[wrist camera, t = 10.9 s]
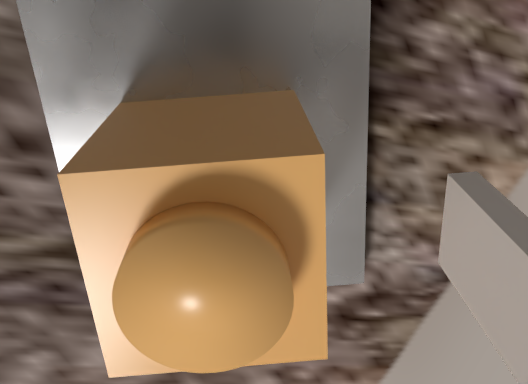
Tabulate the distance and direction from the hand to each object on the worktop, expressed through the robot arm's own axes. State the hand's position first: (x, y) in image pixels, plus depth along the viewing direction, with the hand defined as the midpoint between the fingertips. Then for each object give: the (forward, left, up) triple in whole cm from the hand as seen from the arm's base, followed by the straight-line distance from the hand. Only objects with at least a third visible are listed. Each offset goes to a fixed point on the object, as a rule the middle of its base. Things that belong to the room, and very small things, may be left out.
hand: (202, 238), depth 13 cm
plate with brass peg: (0, 0, -8) cm, 8 cm away
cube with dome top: (+1, 0, -7) cm, 7 cm away
